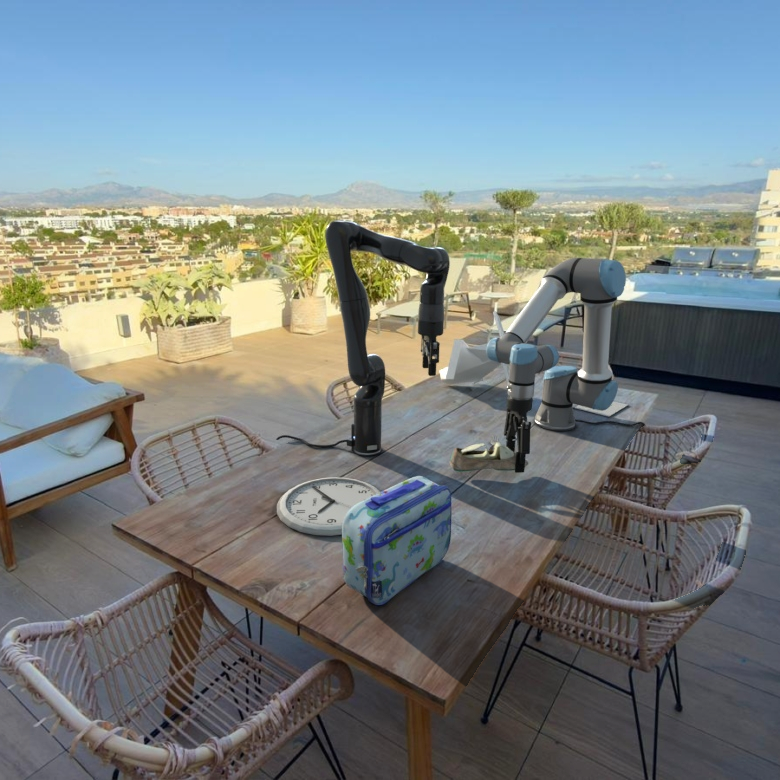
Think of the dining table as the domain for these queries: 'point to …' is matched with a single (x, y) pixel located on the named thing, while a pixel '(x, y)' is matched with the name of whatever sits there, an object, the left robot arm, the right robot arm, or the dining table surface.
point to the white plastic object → (471, 362)
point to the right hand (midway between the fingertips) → (514, 465)
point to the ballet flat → (483, 458)
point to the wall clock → (322, 504)
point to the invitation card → (608, 412)
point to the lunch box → (395, 537)
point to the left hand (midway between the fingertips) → (428, 371)
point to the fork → (493, 443)
